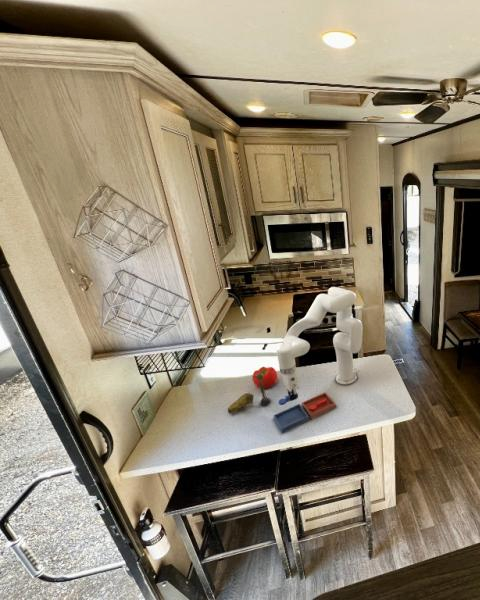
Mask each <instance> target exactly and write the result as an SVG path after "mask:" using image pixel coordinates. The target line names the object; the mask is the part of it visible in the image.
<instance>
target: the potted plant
mask: <svg viewBox="0 0 480 600" xmlns="http://www.w3.org/2000/svg"><path fill="white" fill-rule="evenodd" d="M252 377H253V378H257V379H258V380H260V381H259V382H260V387H261V388H260V390H261V400H260V406H262V407H265V406H268V405H269V404H270V403H271V399H270V398H269V397H268V396H267V393H266V391H265V388H264V387H263V382H262V380H261V379H263V377H264V376H263V374H262V373H258V374H257V375H256V376H253V375H252ZM253 378H252V379H253Z"/></svg>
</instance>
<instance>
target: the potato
mask: <svg viewBox="0 0 480 600" xmlns="http://www.w3.org/2000/svg"><path fill="white" fill-rule="evenodd" d="M253 403H254V395H253V394H252V393H249V392H248V393H244V394H242V395H241V396H239V397H238V398H237V399H236V400H235V401H234V402H233V403H232V404H230V405H229V407H227V411H228V413H229V414H235V413H237V412H238V411H241V410H243V409H245V408H246V407H248V406H249V405H251V404H253Z"/></svg>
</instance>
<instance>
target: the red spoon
mask: <svg viewBox="0 0 480 600" xmlns="http://www.w3.org/2000/svg"><path fill="white" fill-rule="evenodd" d="M325 404H327V400H326V398H325V399H323V400H321V401H319V402H317V403H316V405H311V406H310V410H311V411H315V410H316V409H317V408H319V407H321V406H323V405H325Z"/></svg>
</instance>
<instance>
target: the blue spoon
mask: <svg viewBox="0 0 480 600" xmlns="http://www.w3.org/2000/svg"><path fill="white" fill-rule="evenodd" d="M296 395H297V399H298V398H299V393H298V392H297V394H296ZM289 402H291V400H290V395H288V394H287V395H285V396H284V398H280V399H279V400H278V405H279V406H284V405H286V404H287V403H289Z"/></svg>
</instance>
